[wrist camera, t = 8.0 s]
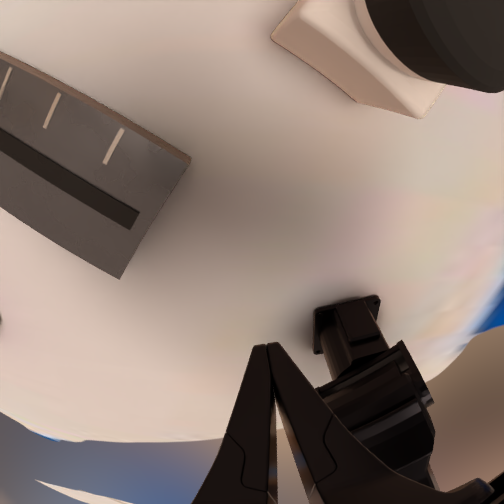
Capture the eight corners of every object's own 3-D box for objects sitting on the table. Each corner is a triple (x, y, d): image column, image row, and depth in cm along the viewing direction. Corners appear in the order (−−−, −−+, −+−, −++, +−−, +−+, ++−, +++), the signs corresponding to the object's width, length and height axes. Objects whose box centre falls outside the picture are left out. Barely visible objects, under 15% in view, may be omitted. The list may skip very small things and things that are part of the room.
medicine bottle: (358, 104, 16) (503, 157, 6) (267, 38, 14) (348, -27, 4) (409, 35, 13) (555, 41, 3) (328, -32, 11) (442, -108, 1)
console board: (191, 158, 17) (188, 165, 16) (124, 266, 21) (119, 280, 20) (-19, 42, 9) (-33, 43, 8) (-51, 151, 13) (-64, 158, 11)
